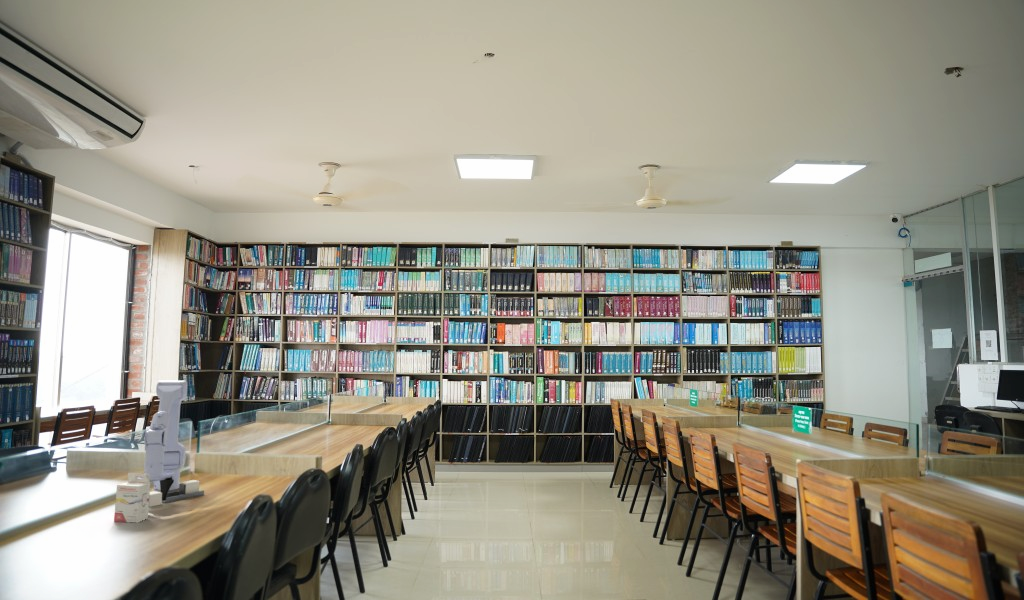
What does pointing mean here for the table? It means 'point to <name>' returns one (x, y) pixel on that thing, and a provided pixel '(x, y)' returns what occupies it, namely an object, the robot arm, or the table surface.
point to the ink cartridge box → (132, 499)
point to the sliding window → (181, 496)
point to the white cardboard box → (155, 498)
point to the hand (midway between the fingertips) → (151, 502)
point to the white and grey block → (188, 486)
